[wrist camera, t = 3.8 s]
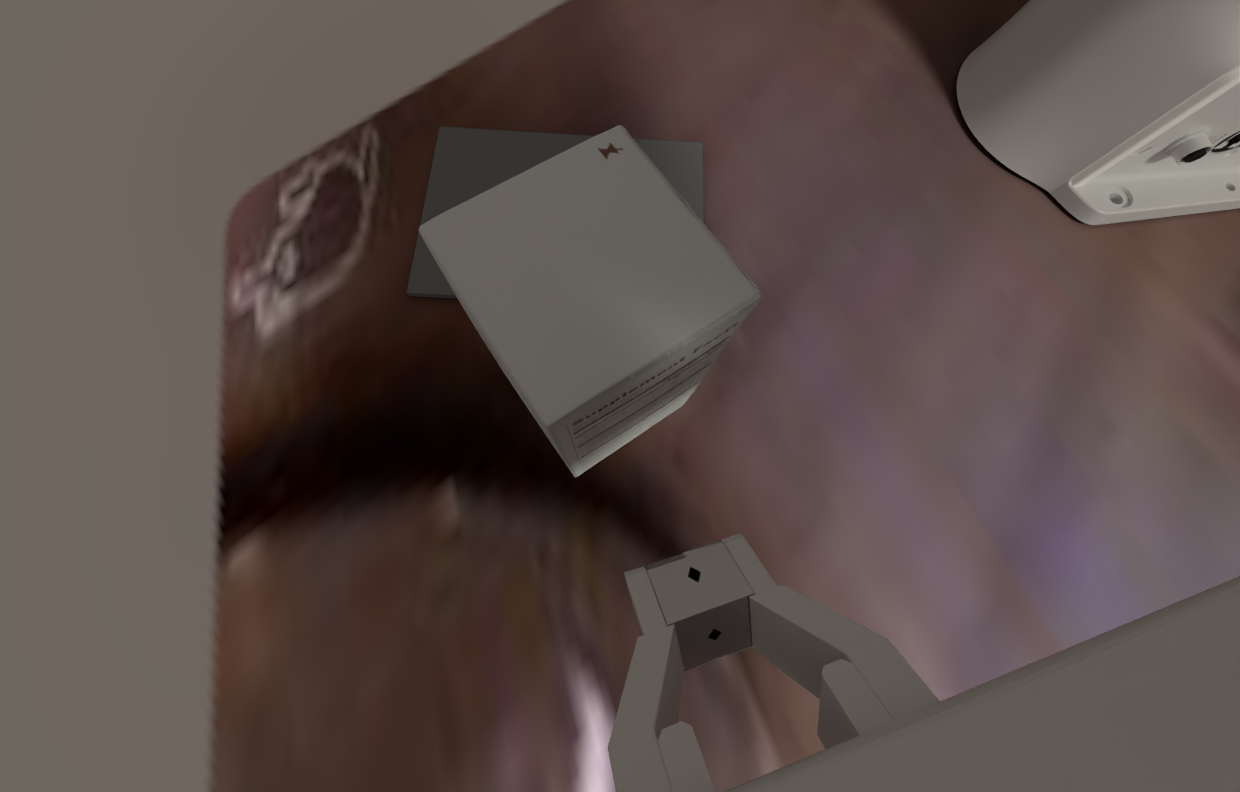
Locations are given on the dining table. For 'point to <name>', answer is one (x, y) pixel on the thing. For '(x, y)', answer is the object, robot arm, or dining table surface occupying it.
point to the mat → (499, 155)
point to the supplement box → (593, 292)
